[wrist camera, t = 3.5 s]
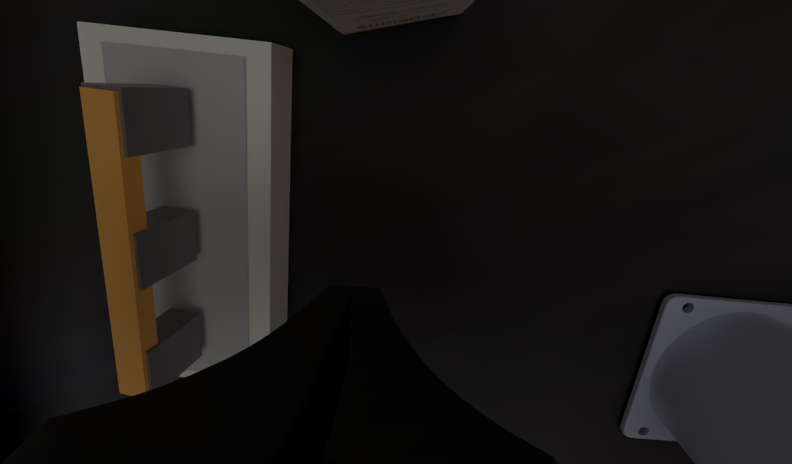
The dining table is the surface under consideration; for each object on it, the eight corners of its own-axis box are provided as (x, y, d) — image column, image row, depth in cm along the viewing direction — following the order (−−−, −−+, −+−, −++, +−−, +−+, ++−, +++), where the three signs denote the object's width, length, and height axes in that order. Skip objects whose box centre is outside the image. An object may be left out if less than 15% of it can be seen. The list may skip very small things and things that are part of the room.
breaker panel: (292, 49, 16) (269, 42, 13) (286, 342, 21) (268, 387, 18) (132, 31, 16) (71, 20, 13) (159, 331, 20) (118, 374, 17)
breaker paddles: (187, 87, 13) (116, 87, 11) (202, 354, 17) (149, 402, 14) (153, 83, 14) (75, 82, 11) (174, 348, 17) (117, 394, 14)
